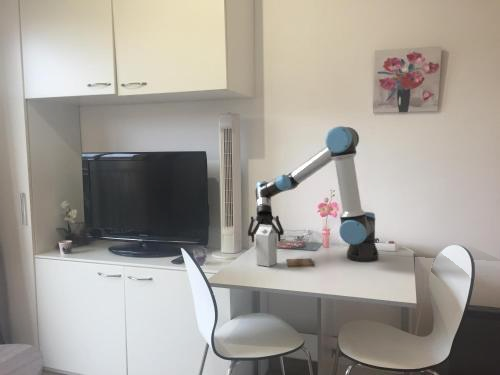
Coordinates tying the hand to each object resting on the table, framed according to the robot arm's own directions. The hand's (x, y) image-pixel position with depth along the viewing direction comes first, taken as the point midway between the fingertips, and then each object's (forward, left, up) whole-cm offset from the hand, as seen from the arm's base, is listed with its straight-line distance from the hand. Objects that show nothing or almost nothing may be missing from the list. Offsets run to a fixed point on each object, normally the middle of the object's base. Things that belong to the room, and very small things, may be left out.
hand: (266, 247), depth 195 cm
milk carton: (0, -3, -9) cm, 10 cm away
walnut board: (-16, -3, -9) cm, 19 cm away
